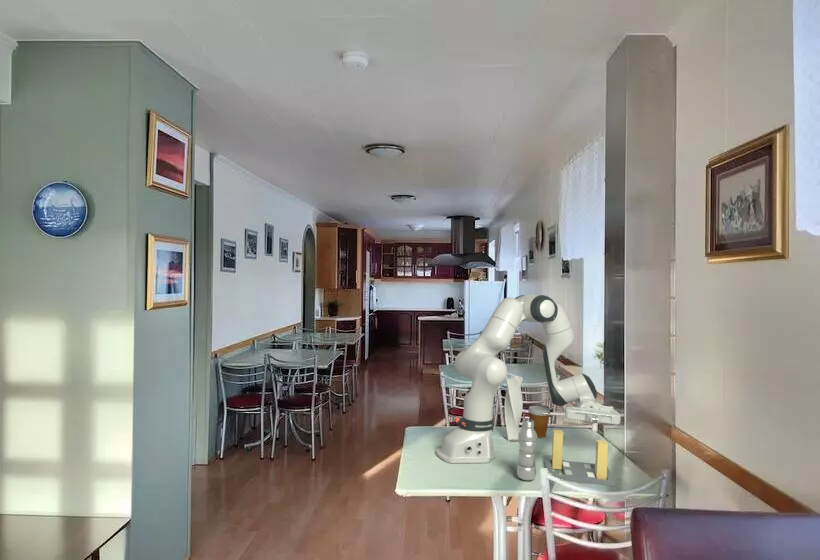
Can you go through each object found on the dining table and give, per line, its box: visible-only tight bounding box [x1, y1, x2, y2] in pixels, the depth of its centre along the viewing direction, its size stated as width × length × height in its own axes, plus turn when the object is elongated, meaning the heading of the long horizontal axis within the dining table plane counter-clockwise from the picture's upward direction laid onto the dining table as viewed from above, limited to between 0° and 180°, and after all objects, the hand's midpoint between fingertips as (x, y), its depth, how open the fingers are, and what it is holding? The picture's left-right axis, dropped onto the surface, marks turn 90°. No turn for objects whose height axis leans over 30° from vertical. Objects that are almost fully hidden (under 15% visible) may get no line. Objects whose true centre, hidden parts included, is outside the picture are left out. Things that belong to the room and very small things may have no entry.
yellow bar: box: [594, 439, 609, 480], centre depth 183 cm, size 4×3×13 cm
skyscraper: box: [503, 372, 526, 443], centre depth 225 cm, size 8×8×28 cm
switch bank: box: [544, 458, 616, 487], centre depth 188 cm, size 16×22×2 cm
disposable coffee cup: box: [527, 405, 551, 439], centre depth 231 cm, size 10×10×12 cm
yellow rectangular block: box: [551, 429, 564, 470], centre depth 193 cm, size 4×3×13 cm
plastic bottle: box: [516, 418, 538, 481], centre depth 181 cm, size 6×7×20 cm
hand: (595, 420), depth 197 cm, fingers closed
